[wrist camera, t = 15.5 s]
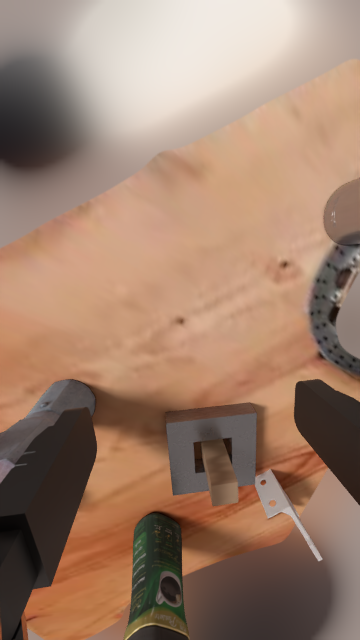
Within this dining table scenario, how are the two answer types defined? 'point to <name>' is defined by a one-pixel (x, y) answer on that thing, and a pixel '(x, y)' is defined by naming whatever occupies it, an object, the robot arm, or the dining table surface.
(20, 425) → the moka pot
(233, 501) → the tan square peg
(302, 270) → the dining table surface
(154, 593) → the coffee jar
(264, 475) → the bracket
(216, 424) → the square hole plate
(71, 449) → the robot arm
